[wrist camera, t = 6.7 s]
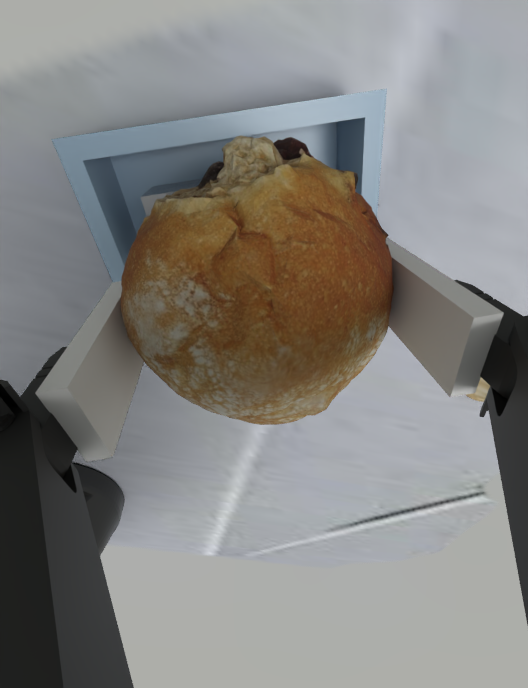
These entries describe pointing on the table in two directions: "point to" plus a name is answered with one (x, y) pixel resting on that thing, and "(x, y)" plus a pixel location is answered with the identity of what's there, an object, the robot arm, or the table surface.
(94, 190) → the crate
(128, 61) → the table surface
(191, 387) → the bread roll
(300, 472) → the table surface
